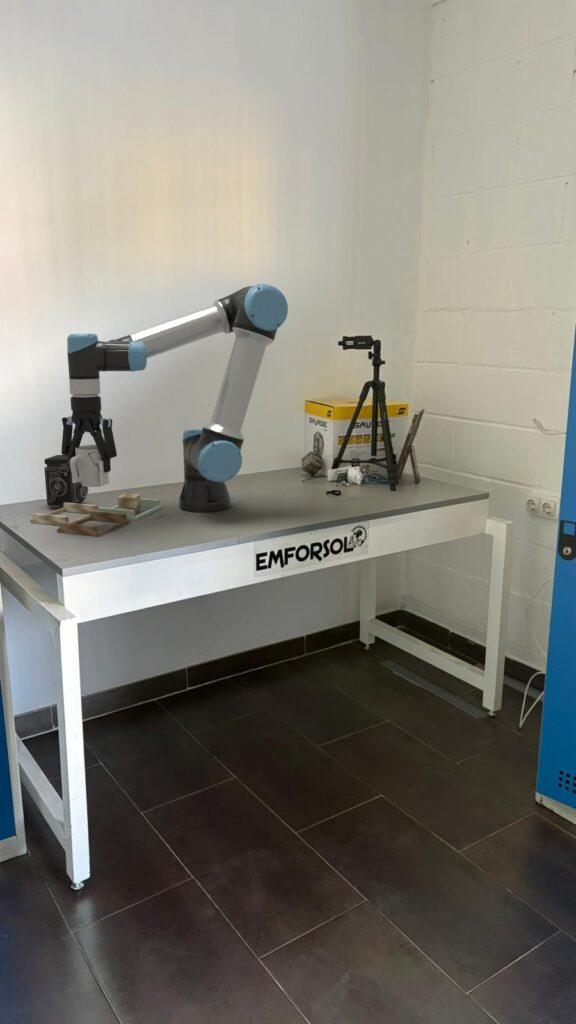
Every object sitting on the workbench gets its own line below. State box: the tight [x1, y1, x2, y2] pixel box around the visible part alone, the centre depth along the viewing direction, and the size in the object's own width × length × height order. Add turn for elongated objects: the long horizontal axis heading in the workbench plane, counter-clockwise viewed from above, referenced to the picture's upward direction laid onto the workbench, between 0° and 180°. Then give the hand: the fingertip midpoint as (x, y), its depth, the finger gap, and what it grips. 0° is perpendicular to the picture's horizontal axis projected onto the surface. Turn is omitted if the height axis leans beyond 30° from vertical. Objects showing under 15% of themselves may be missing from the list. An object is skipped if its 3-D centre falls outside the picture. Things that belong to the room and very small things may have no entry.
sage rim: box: [98, 497, 163, 521], centre depth 221 cm, size 13×15×2 cm
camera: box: [44, 454, 89, 509], centre depth 227 cm, size 10×11×15 cm
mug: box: [70, 444, 105, 488], centre depth 201 cm, size 11×8×10 cm
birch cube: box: [117, 493, 142, 516], centre depth 221 cm, size 5×5×5 cm
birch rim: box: [30, 502, 99, 526], centre depth 214 cm, size 13×15×2 cm
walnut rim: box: [56, 510, 130, 537], centre depth 204 cm, size 13×15×2 cm
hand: (90, 483), depth 202 cm, fingers closed on mug, 8 cm apart
